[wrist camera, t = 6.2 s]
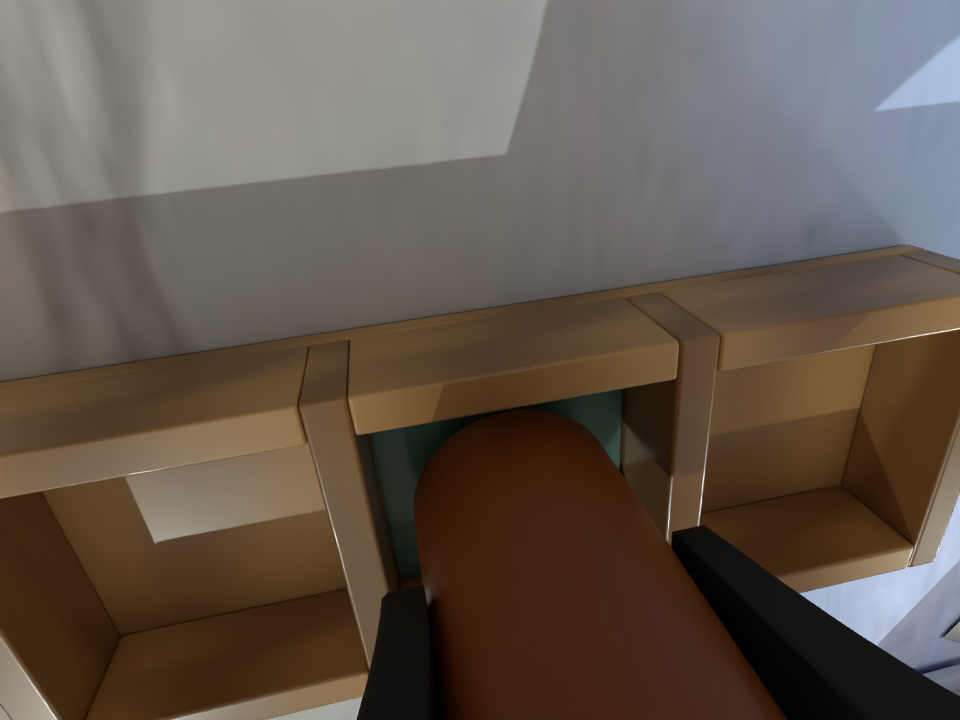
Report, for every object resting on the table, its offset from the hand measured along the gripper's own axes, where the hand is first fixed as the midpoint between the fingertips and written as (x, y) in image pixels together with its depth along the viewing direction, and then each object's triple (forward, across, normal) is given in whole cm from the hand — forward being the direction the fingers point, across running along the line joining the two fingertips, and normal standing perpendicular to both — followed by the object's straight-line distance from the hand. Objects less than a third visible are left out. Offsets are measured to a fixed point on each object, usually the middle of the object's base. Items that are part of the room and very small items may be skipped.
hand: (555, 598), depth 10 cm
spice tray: (+5, 0, 0) cm, 5 cm away
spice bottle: (+3, 0, 0) cm, 3 cm away
